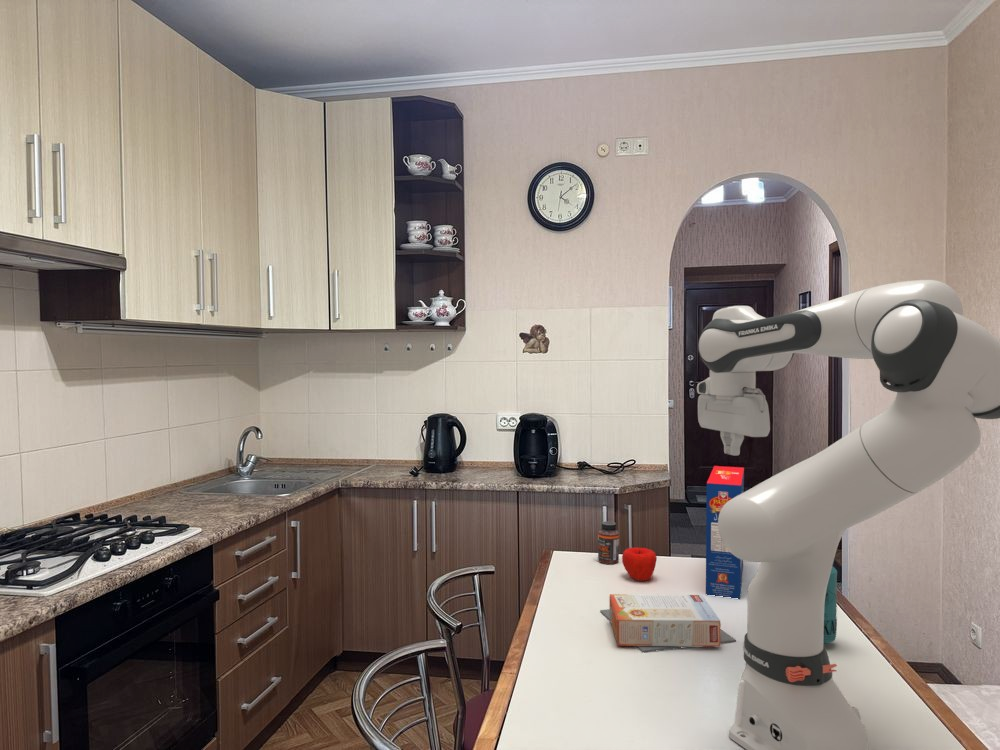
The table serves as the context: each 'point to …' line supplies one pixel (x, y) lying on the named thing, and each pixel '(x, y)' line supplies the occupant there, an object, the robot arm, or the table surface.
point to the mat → (724, 639)
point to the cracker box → (664, 620)
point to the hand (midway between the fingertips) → (731, 454)
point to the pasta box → (719, 560)
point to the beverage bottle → (830, 608)
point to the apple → (639, 563)
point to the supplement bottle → (608, 543)
